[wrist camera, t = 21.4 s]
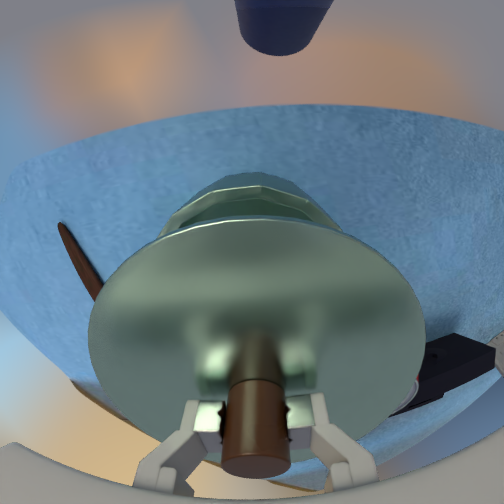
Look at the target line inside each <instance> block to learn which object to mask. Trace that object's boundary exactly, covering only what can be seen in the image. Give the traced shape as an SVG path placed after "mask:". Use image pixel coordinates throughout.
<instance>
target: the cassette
mask: <svg viewBox="0 0 504 504" xmlns="http://www.w3.org/2000/svg"><path fill="white" fill-rule="evenodd" d="M486 345H489V346H491V347H494V348H496V356H495V367H496V368H497V370H498V371H499V372H500V374H501V375H502V376H503V377H504V331H502V332H501V333H500V334H499V335H497V336H496V337H495V338H493V339H492V340H491V341H490V342H489V343H488V344H486Z"/></svg>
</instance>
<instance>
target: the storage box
mask: <svg viewBox="0 0 504 504" xmlns="http://www.w3.org/2000/svg"><path fill="white" fill-rule="evenodd" d="M495 356H496V348H494V347H491V346H489V345H486V344H483V343H480V342H478V341H475V340H472V339H470V338H467V337H464V336H461V335H459V334H456V333H452V334H450V335H447V336H444V337H442V338H439V339H436V340H433V341H431V342H428V343H425V353H424V357H423V361H422V365H421V368H420V371H419V373H418V384H419V388H418V391H417V393H416V395H415V396H414V398H413V399H412V400H411V401H410V402H409V403H408V404H407V405H406V406H405V407H403V408H402V409H400V410H399V411H397V412H395V413H393V414H391V415H390V416H389V417H392V416H395V415H398V414H401V413H404V412H407V411H409V410H412V409H415V408H418V407H420V406H423V405H426V404H428V403H431V402H433V401H436V400H438V399H440V398H442V397H443V395H444V393H445V392H447V391H449V390H452V389H454V388H456V387H458V386H460V385H463V384H465V383H467V382H469V381H471V380H473V379H475V378H477V377H479V376H481V375H482V374H484V373H486V372H488V371H490V370H492V369H493V368H495Z"/></svg>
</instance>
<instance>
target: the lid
mask: <svg viewBox="0 0 504 504" xmlns="http://www.w3.org/2000/svg"><path fill="white" fill-rule="evenodd" d="M425 343H426V331H425V320H424V317H423V313H422V310H421V306H420V303H419V301H418V299H417V297H416V295H415V293H414V291H413V289H412V287H411V286H410V284H409V283H408V282H407V280H406V279H405V278H404V277H403V275H402V274H401V273H400V272H399V270H398V269H397V268H396V267H395V266H394V265H393V264H392V263H391V262H389V261H388V260H387V259H386V258H385V257H384V256H382V255H381V254H380V253H379V252H378V251H377V250H375V249H374V248H372V247H370V246H369V245H367V244H366V243H364V242H362V241H361V240H359V239H357V238H356V237H354V236H352V235H349V234H347V233H344V232H342V231H339V230H337V229H334V228H332V227H329V226H327V225H323V224H319V223H315V222H311V221H306V220H302V219H298V218H291V217H280V216H270V215H249V216H229V217H224V218H218V219H213V220H208V221H202V222H198V223H195V224H192V225H189V226H186V227H183V228H180V229H177V230H174V231H171V232H169V233H167V234H165V235H163V236H161V237H159V238H157V239H155V240H154V241H152V242H150V243H148V244H146V245H145V246H143V247H142V248H141V249H139V250H138V251H137V252H135V253H134V254H133V255H131V256H130V257H129V258H127V259H126V260H125V261H124V262H123V263H122V264H121V265H120V266H119V267H118V269H117V270H116V271H115V272H114V273H113V274H112V275H111V276H110V277H109V278H108V280H107V281H106V283H105V284H104V286H103V288H102V289H101V291H100V293H99V294H98V296H97V298H96V301H95V303H94V306H93V309H92V312H91V315H90V321H89V327H88V348H89V353H90V358H91V363H92V366H93V368H94V371H95V374H96V376H97V378H98V380H99V382H100V384H101V386H102V388H103V390H104V391H105V393H106V394H107V396H108V397H109V398H110V400H111V401H112V403H113V404H114V405H115V406H116V407H117V408H118V409H119V410H120V412H121V413H122V414H123V415H124V416H125V417H126V418H128V419H129V420H130V421H131V422H132V423H133V424H134V425H136V426H137V427H138V428H140V429H141V430H142V431H144V432H145V433H147V434H148V435H150V436H151V437H153V438H155V439H156V440H158V441H160V442H163V441H165V440H166V439H167V438H168V437H169V436H170V435H171V434H172V433H174V432H175V431H176V430H180V426H181V422H182V418H183V414H184V410H185V405H186V402H187V401H188V400H223V401H225V403H226V416H225V426H224V435H223V444H222V453H208V454H207V455H206V457H205V458H204V459H206V460H210V461H215V462H220V463H221V467H222V469H223V470H224V471H226V472H227V473H229V474H231V475H234V476H238V477H243V478H251V479H261V478H270V477H275V476H278V475H281V474H283V473H285V472H286V471H288V470H289V468H290V466H291V463H294V462H300V461H304V460H308V459H312V458H316V457H317V456H316V455H315V454H314V453H313V452H312V451H311V450H310V448H307V449H297V450H290V445H289V438H288V430H287V415H286V405H285V397H286V396H294V395H302V394H312V393H319V392H323V394H324V398H325V402H326V407H327V412H328V416H329V421H330V424H331V423H334V424H335V425H336V426H338V427H339V428H340V429H341V430H342V431H344V432H345V433H346V434H347V435H349V436H350V437H351V438H352V439H353V440H355V441H356V440H358V439H360V438H361V437H363V436H364V435H366V434H367V433H369V432H370V431H372V430H373V429H375V428H376V427H377V426H378V425H380V424H381V423H382V422H383V421H384V420H386V419H387V418H388V417H389V416H390V415H391V414H392V413H393V412H394V411H395V410H396V408H397V407H398V406H399V405H400V404H401V402H402V401H403V400H404V398H405V397H406V396H407V394H408V393H409V391H410V389H411V388H412V386H413V384H414V382H415V380H416V378H417V376H418V373H419V371H420V368H421V365H422V361H423V357H424V353H425Z"/></svg>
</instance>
